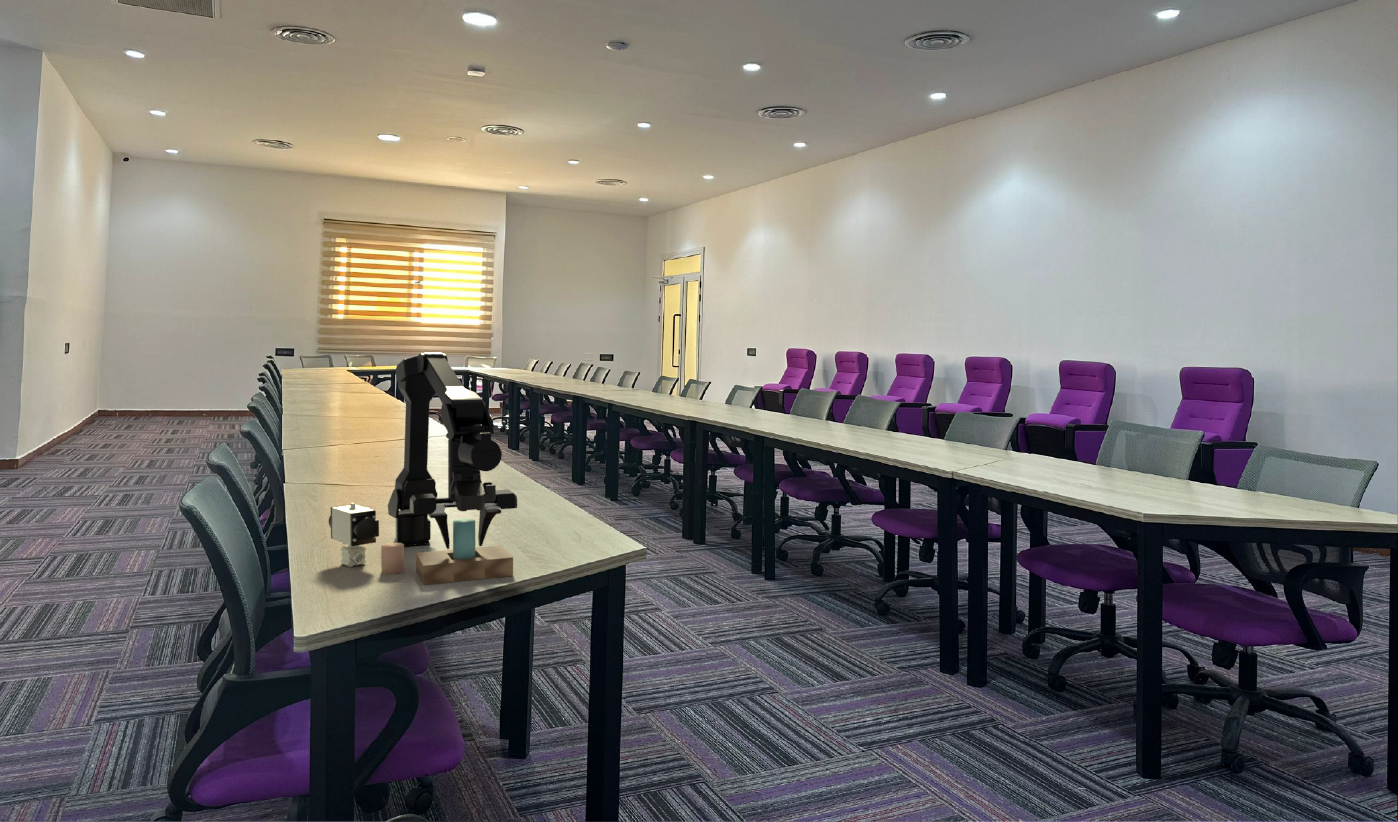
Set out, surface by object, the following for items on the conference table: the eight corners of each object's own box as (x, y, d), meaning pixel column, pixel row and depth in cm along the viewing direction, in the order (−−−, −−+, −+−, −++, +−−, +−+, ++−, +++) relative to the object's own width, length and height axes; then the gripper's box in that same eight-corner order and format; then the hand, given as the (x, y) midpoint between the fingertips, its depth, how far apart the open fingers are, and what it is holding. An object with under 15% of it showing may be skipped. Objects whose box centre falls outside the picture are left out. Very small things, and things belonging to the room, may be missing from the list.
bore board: (423, 584, 146) (423, 565, 146) (416, 571, 155) (416, 552, 155) (513, 575, 153) (513, 557, 153) (501, 563, 162) (501, 545, 162)
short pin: (382, 575, 152) (382, 548, 152) (380, 569, 156) (380, 543, 155) (405, 573, 154) (405, 546, 154) (402, 567, 158) (402, 542, 157)
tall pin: (455, 577, 152) (455, 523, 151) (451, 572, 155) (451, 519, 154) (477, 575, 153) (477, 522, 153) (473, 569, 157) (473, 518, 156)
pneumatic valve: (355, 572, 153) (355, 509, 153) (327, 560, 161) (327, 500, 160) (384, 567, 158) (383, 505, 157) (355, 556, 165) (354, 497, 164)
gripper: (417, 473, 141) (417, 562, 143) (524, 468, 150) (524, 552, 151) (409, 464, 151) (409, 547, 153) (510, 460, 160) (510, 539, 161)
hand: (464, 547), depth 154 cm, fingers open, 6 cm apart
